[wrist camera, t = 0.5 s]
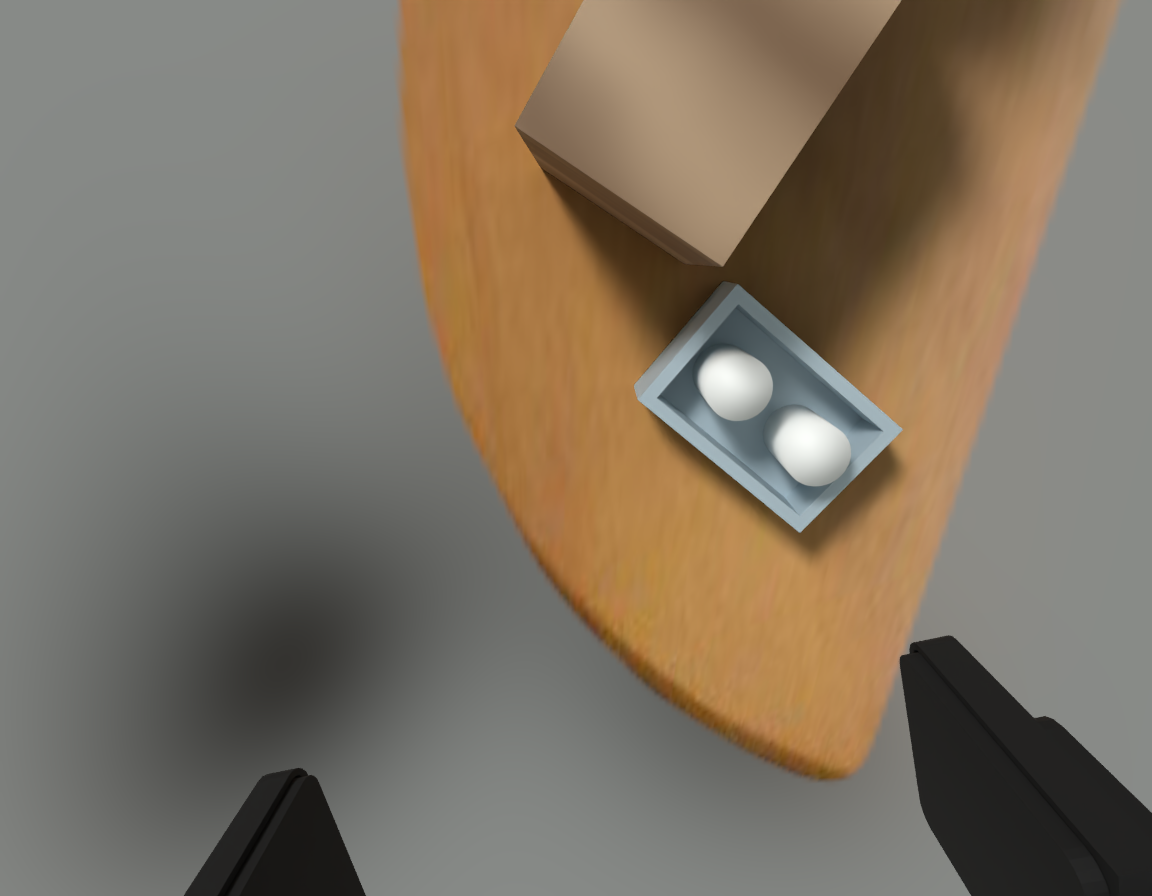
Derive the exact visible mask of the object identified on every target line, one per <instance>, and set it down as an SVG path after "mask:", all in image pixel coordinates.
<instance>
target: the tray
mask: <svg viewBox="0 0 1152 896" xmlns="http://www.w3.org/2000/svg"><path fill="white" fill-rule="evenodd" d="M634 388H635V392H636V395H637V399H638V400H639V401H640V402H641V403H642V404H644V405H645V406H646V407H647V408H648V409H650V410H651V411H652V412H653V413H655V414H656V415H657V416H658V417H659V418H661V419H662V420H663V421H664V422H665V423H667V424H668V425H669V426H670V427H672V428H673V429H674V430H675V431H676V432H678V433H679V434H680V435H681V436H683V437H684V438H685V439H686V440H687V441H689V442H690V443H691V444H692V445H693V446H695V447H696V448H697V449H698V450H700V451H701V452H702V453H703V454H704V455H706V456H707V457H708V458H709V459H710V460H712V461H713V462H714V463H715V464H717V465H718V466H719V467H720V468H721V469H723V470H724V471H725V472H726V473H728V474H729V475H730V476H731V477H732V478H734V479H735V480H736V481H737V482H738V483H740V484H741V485H742V486H743V487H745V488H746V489H747V490H748V491H749V492H751V493H752V494H753V495H754V496H755V497H757V498H758V499H759V500H760V501H762V502H763V503H764V504H765V505H766V506H768V507H769V508H770V509H771V510H773V511H774V512H775V513H776V514H777V515H779V516H780V517H781V518H782V519H783V520H785V521H786V522H787V523H788V524H790V525H791V526H792V527H793V528H794V529H796V530H797V531H798V532H799V533H800V532H801V531H802V530H803V529H804V528H805V527H806V526H807V525H808V524H809V523H810V522H811V521H812V520H813V519H814V518H815V517H816V516H817V515H818V514H819V513H820V512H821V511H822V510H823V509H824V508H825V507H826V506H827V505H828V504H829V503H830V502H831V501H832V500H833V499H834V498H835V497H836V496H837V495H838V494H839V493H840V492H841V491H842V490H843V489H844V488H845V487H846V486H847V485H848V484H849V483H850V482H851V481H852V480H853V479H854V478H855V477H856V476H857V475H858V474H859V473H860V472H861V471H862V470H863V469H864V468H865V467H866V466H867V465H868V464H869V463H870V462H871V461H872V460H873V459H874V458H875V457H876V456H877V455H878V454H879V453H880V452H881V451H882V450H883V449H884V448H885V447H886V446H887V445H888V444H889V443H890V442H891V441H892V440H893V439H894V438H895V437H896V436H897V435H898V434H899V433H900V432H901V431H902V430H903V429H902V428H901V427H899V426H898V425H897V424H896V423H895V422H894V421H893V420H892V419H890V418H889V417H888V416H887V415H886V414H885V413H884V412H882V411H881V410H880V409H879V408H878V407H877V406H876V405H875V404H873V403H872V402H871V401H870V400H869V399H868V398H867V397H865V396H864V395H863V394H862V393H861V392H860V391H859V390H857V389H856V388H855V387H854V386H853V385H852V384H851V383H850V382H848V381H847V380H846V379H845V378H844V377H843V376H842V375H840V374H839V373H838V372H837V371H836V370H835V369H834V368H833V367H831V366H830V365H829V364H828V363H827V362H826V361H825V360H823V359H822V358H821V357H820V356H819V355H818V354H817V353H816V352H814V351H813V350H812V349H811V348H810V347H809V346H808V345H806V344H805V343H804V342H803V341H802V340H801V339H800V338H799V337H797V336H796V335H795V334H794V333H793V332H792V331H791V330H789V329H788V328H787V327H786V326H785V325H784V324H783V323H782V322H780V321H779V320H778V319H777V318H776V317H775V316H774V315H772V314H771V313H770V312H769V311H768V310H767V309H766V308H764V307H763V306H762V305H761V304H760V303H759V302H758V301H757V300H755V299H754V298H753V297H752V296H751V295H750V294H749V293H747V292H746V291H745V290H744V289H743V288H742V287H741V286H740V285H738V284H735V283H730V282H725V281H723V282H722V283H721V284H720V285H719V286H718V288H717V289H716V290H715V291H714V292H713V293H712V295H711V296H710V297H709V298H708V299H707V300H706V302H705V303H704V304H703V305H702V306H701V307H700V309H699V310H698V311H697V312H696V313H695V314H694V316H693V317H692V318H691V319H690V320H689V321H688V323H687V324H686V325H685V326H684V327H683V328H682V330H681V331H680V332H679V333H678V334H677V335H676V337H675V338H674V339H673V340H672V341H671V342H670V344H669V345H668V346H667V347H666V348H665V349H664V351H663V352H662V353H661V354H660V355H659V357H658V358H657V359H656V360H655V361H654V362H653V364H652V365H651V366H650V367H649V368H648V369H647V371H646V372H645V373H644V374H643V375H642V376H641V378H640V379H639V380H638V381H637V382H636V383H635V385H634Z"/></svg>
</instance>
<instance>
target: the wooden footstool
mask: <svg viewBox="0 0 1152 896" xmlns="http://www.w3.org/2000/svg"><path fill="white" fill-rule="evenodd" d="M900 2H901V0H584V1H583V2H582V4H581V6H580V8H579V10H578V12H577V13H576V15H575V17H574V19H573V21H572V22H571V24H570V26H569V28H568V30H567V32H566V33H565V35H564V37H563V39H562V41H561V42H560V44H559V46H558V48H557V50H556V52H555V53H554V55H553V57H552V59H551V61H550V62H549V64H548V66H547V68H546V70H545V71H544V73H543V75H542V77H541V79H540V81H539V82H538V84H537V86H536V88H535V90H534V91H533V93H532V95H531V97H530V99H529V101H528V102H527V104H526V106H525V108H524V110H523V111H522V113H521V115H520V117H519V119H518V121H517V122H516V124H515V127H516V129H517V131H518V132H519V134H520V135H521V137H522V139H523V140H524V142H525V143H526V145H527V147H528V148H529V150H530V151H531V153H532V155H533V156H534V158H535V159H536V161H537V163H538V164H539V166H540V167H541V168H542V169H544V170H545V171H547V172H548V173H550V174H551V175H553V176H554V177H556V178H557V179H559V180H560V181H562V182H563V183H565V184H566V185H568V186H569V187H571V188H572V189H574V190H575V191H577V192H578V193H580V194H581V195H582V196H584V197H585V198H587V199H588V200H590V201H591V202H593V203H594V204H596V205H597V206H599V207H600V208H602V209H603V210H605V211H606V212H608V213H609V214H611V215H612V216H614V217H615V218H617V219H618V220H620V221H621V222H623V223H624V224H626V225H627V226H629V227H630V228H632V229H633V230H635V231H636V232H638V233H639V234H641V235H642V236H644V237H645V238H647V239H648V240H650V241H651V242H653V243H654V244H656V245H657V246H659V247H660V248H662V249H663V250H664V251H666V252H667V253H669V254H670V255H672V256H673V257H675V258H676V259H678V260H679V261H681V262H682V263H684V264H691V265H706V266H721V267H723V266H724V264H725V263H726V261H727V260H728V258H729V257H730V255H731V254H732V252H733V251H734V249H735V248H736V246H737V245H738V243H739V242H740V240H741V239H742V237H743V236H744V234H745V233H746V231H747V230H748V228H749V227H750V225H751V224H752V222H753V221H754V219H755V218H756V216H757V215H758V213H759V212H760V210H761V209H762V207H763V206H764V204H765V203H766V201H767V200H768V198H769V197H770V196H771V194H772V193H773V191H774V190H775V188H776V187H777V185H778V184H779V182H780V181H781V179H782V178H783V176H784V175H785V173H786V172H787V170H788V169H789V167H790V166H791V164H792V163H793V161H794V160H795V158H796V157H797V155H798V154H799V152H800V151H801V149H802V148H803V146H804V145H805V143H806V142H807V140H808V139H809V137H810V136H811V134H812V133H813V131H814V130H815V128H816V127H817V125H818V124H819V122H820V121H821V119H822V118H823V117H824V115H825V114H826V112H827V111H828V109H829V108H830V106H831V105H832V103H833V102H834V100H835V99H836V97H837V96H838V94H839V93H840V91H841V90H842V88H843V87H844V85H845V84H846V82H847V81H848V79H849V78H850V76H851V75H852V73H853V72H854V70H855V69H856V67H857V66H858V64H859V63H860V61H861V60H862V58H863V57H864V55H865V54H866V52H867V51H868V49H869V48H870V46H871V45H872V43H873V42H874V40H875V39H876V38H877V36H878V35H879V33H880V32H881V30H882V29H883V27H884V26H885V24H886V23H887V21H888V20H889V18H890V17H891V15H892V14H893V12H894V11H895V9H896V8H897V6H898V5H899V3H900Z"/></svg>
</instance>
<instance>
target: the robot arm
mask: <svg viewBox="0 0 1152 896" xmlns="http://www.w3.org/2000/svg"><path fill="white" fill-rule="evenodd" d="M900 669H901V676H902V682H903V689H904V696H905V702H906V710H907V717H908V723H909V730H910V737H911V743H912V750H913V757H914V764H915V771H916V778H917V785H918V791H919V797H920V803H921V806H922V810H923V813H924V815H925V818H926V820H927V822H928V824H929V826H930V828H931V830H932V831H933V833H934V835H935V837H936V838H937V840H938V841H939V843H940V845H941V846H942V848H943V850H944V851H945V853H946V855H947V856H948V858H949V860H950V861H951V863H952V865H953V866H954V868H955V870H956V871H957V873H958V875H959V876H960V877H961V879H962V881H963V883H964V884H965V886H966V888H967V889H968V891H969V893H970V894H971V896H1152V813H1151V812H1150V811H1149V810H1148V809H1147V808H1146V807H1145V806H1144V805H1143V804H1142V803H1141V802H1140V801H1139V800H1138V799H1137V798H1136V797H1135V796H1134V795H1133V794H1132V793H1130V792H1129V791H1128V790H1127V789H1126V788H1125V787H1124V786H1123V785H1122V784H1121V783H1120V782H1119V781H1118V780H1117V779H1116V778H1115V777H1114V776H1113V775H1112V774H1111V773H1110V772H1109V771H1108V770H1107V769H1106V768H1105V767H1104V766H1103V765H1102V764H1101V763H1100V762H1099V761H1098V760H1096V758H1095V757H1093V756H1092V755H1091V754H1090V753H1089V752H1088V751H1087V750H1086V749H1085V748H1084V747H1083V746H1082V745H1081V744H1080V743H1079V742H1078V741H1077V740H1076V739H1075V738H1074V737H1073V736H1072V735H1071V734H1070V733H1069V732H1068V731H1067V730H1066V729H1065V728H1064V727H1062V726H1061V725H1060V724H1059V723H1057V722H1056V721H1055V720H1054V719H1051V718H1049V717H1046V716H1043V717H1039V718H1033V717H1032V716H1031V715H1030V714H1029V713H1028V712H1027V711H1026V710H1025V709H1024V708H1023V707H1022V706H1021V705H1020V703H1018V702H1017V700H1015V698H1014V697H1012V695H1011V694H1010V693H1009V692H1008V691H1007V690H1006V689H1005V688H1004V687H1003V686H1002V685H1001V684H1000V683H999V682H998V681H997V680H996V679H995V678H994V677H993V676H992V675H991V674H990V673H989V672H988V671H987V670H986V669H985V668H984V667H983V666H982V665H981V664H980V663H979V662H978V661H977V660H976V659H975V658H974V657H973V656H972V655H971V654H970V653H969V652H968V651H967V650H966V649H965V648H964V647H963V646H962V645H961V644H960V643H959V642H958V641H957V640H956V639H955V638H954V637H952V636H944V637H939V638H934V639H929V640H924V641H919V642H914V643H912V644H911V645H910V654H906V655H902V656H901V657H900ZM184 896H366V895H365V893H364V890H363V888H362V885H361V883H360V881H359V878H358V876H357V873H356V871H355V869H354V866H353V864H352V861H351V859H350V857H349V854H348V852H347V850H346V847H345V844H344V842H343V840H342V837H341V835H340V832H339V830H338V828H337V825H336V823H335V820H334V818H333V815H332V813H331V811H330V808H329V806H328V803H327V801H326V799H325V796H324V794H323V791H322V789H321V787H320V784H319V782H318V780H317V778H316V777H314V776H312V775H309V776H308V774H307V772H306V771H304V770H303V769H301V768H296V769H291V770H286V771H281V772H276V773H271V774H267V775H265V776H263V777H262V778H261V779H260V780H259V781H258V782H257V784H256V786H255V787H254V789H253V790H252V792H251V793H250V795H249V796H248V798H247V799H246V801H245V802H244V804H243V806H242V807H241V809H240V810H239V812H238V813H237V815H236V816H235V818H234V819H233V821H232V823H231V824H230V825H229V827H228V829H227V830H226V832H225V833H224V835H223V836H222V838H221V840H220V841H219V843H218V844H217V846H216V847H215V849H214V850H213V852H212V853H211V855H210V856H209V858H208V859H207V861H206V862H205V864H204V866H203V867H202V868H201V870H200V872H199V873H198V875H197V876H196V878H195V879H194V881H193V882H192V884H191V885H190V887H189V888H188V890H187V891H186V893H185V895H184Z"/></svg>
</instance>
